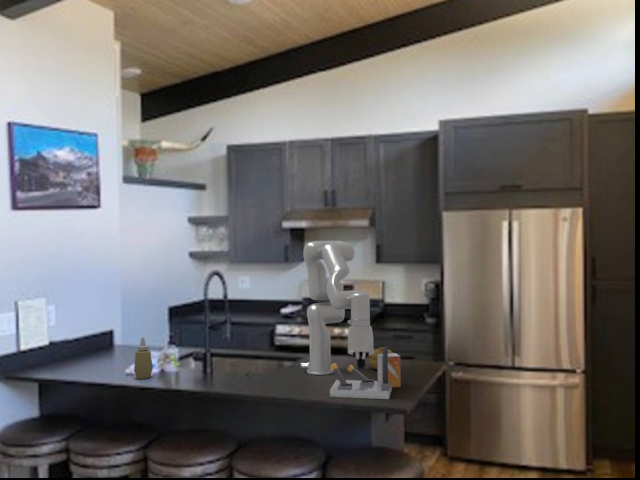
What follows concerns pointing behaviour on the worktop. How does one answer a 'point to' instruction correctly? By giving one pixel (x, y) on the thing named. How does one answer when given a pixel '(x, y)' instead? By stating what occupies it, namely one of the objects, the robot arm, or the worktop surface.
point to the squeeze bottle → (143, 361)
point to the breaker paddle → (357, 373)
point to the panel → (360, 389)
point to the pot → (376, 357)
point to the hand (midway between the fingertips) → (361, 368)
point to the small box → (390, 369)
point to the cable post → (385, 370)
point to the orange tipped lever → (338, 374)
